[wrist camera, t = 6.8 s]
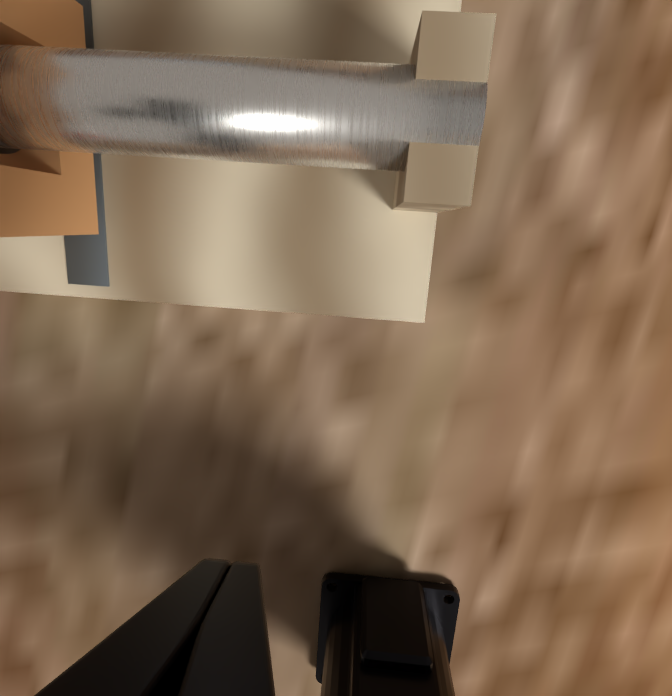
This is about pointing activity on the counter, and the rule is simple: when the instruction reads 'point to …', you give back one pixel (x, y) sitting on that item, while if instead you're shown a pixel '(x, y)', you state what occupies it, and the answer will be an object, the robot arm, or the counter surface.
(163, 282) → the stand
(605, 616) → the counter surface
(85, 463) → the counter surface
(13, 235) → the slotted orange block
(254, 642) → the robot arm
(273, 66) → the pipe
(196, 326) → the counter surface
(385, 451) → the counter surface
